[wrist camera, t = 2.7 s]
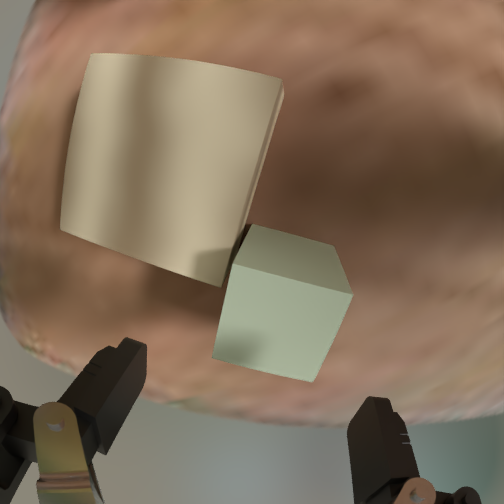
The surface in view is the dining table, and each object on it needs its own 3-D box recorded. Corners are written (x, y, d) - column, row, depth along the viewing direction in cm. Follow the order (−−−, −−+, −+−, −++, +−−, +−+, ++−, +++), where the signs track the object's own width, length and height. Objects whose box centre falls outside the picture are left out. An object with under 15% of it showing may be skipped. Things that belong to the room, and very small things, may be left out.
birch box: (284, 96, 17) (282, 79, 12) (236, 255, 21) (220, 287, 16) (131, 68, 17) (91, 53, 12) (100, 211, 21) (59, 229, 16)
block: (333, 245, 19) (353, 294, 13) (308, 315, 21) (312, 382, 15) (252, 223, 20) (232, 263, 13) (234, 296, 22) (211, 357, 15)
